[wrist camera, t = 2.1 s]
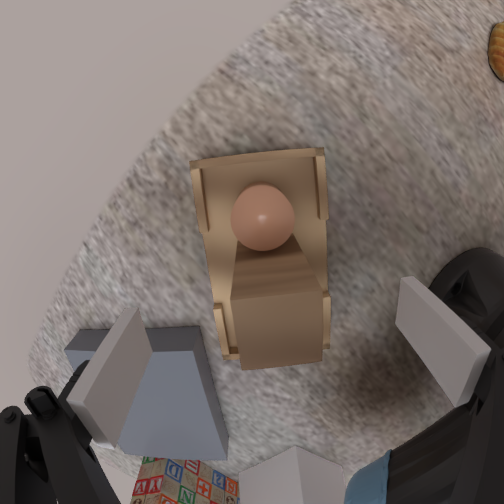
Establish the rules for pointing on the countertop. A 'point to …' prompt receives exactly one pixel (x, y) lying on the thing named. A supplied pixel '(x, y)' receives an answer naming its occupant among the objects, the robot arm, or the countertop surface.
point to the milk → (293, 480)
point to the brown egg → (262, 217)
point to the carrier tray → (218, 226)
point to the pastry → (497, 50)
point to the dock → (168, 397)
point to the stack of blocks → (182, 483)
